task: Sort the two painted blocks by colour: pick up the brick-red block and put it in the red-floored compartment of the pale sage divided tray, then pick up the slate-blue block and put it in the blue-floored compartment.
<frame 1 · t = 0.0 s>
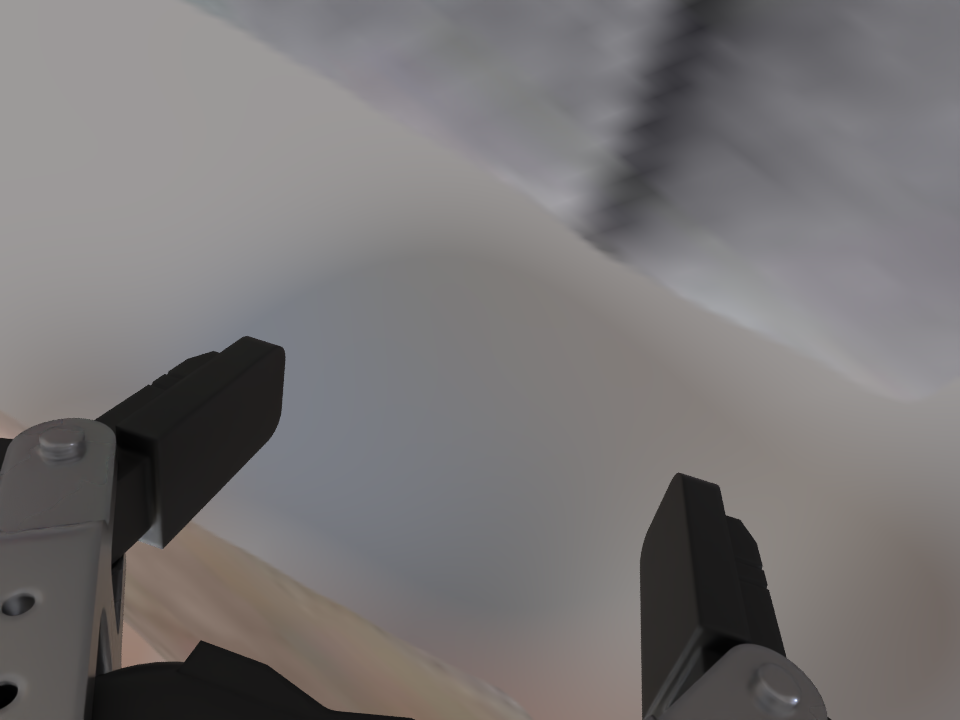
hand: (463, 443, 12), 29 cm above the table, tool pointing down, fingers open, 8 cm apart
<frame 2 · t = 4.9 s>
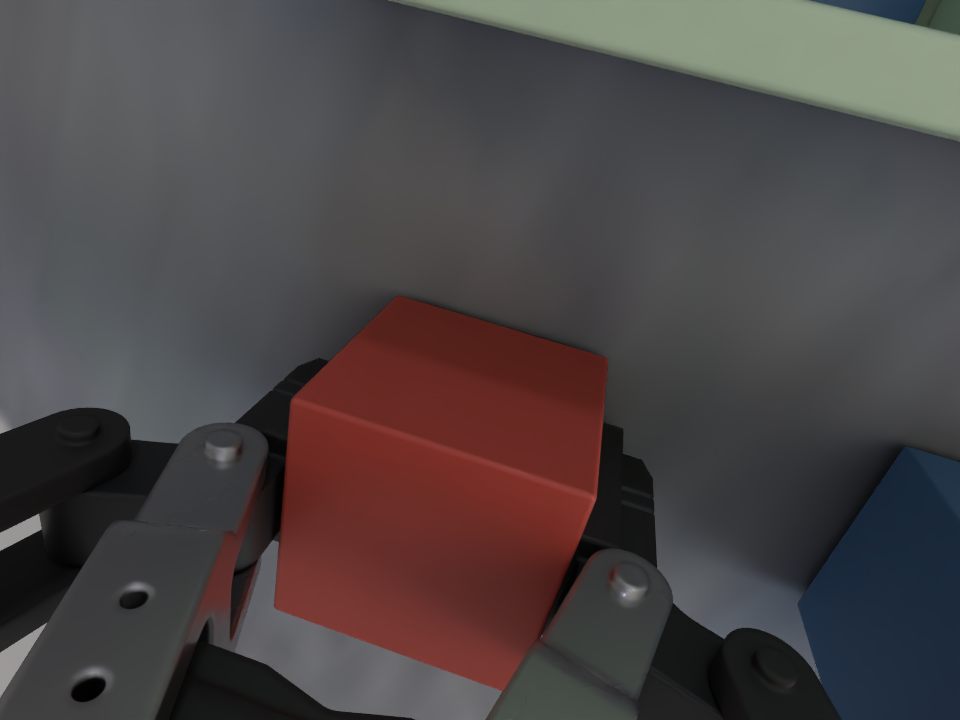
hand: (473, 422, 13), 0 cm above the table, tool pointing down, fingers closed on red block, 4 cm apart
red block: (477, 415, 13), on the table, touching gripper
blue block: (957, 565, 12), on the table
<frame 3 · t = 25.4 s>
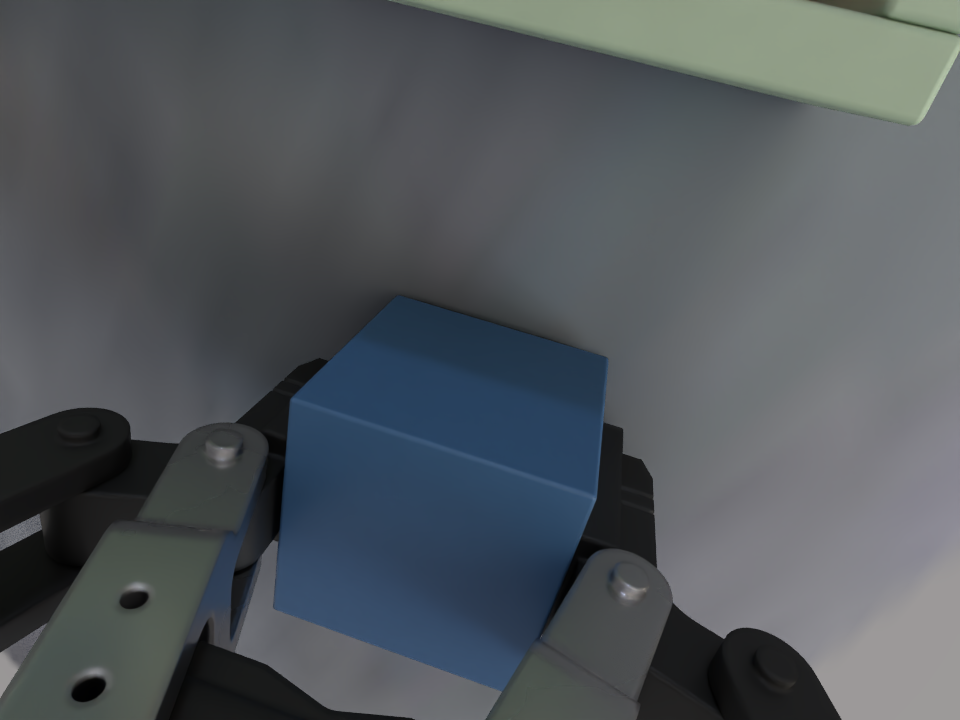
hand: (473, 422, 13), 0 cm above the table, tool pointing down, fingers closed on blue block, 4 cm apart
blue block: (477, 415, 13), on the table, touching gripper
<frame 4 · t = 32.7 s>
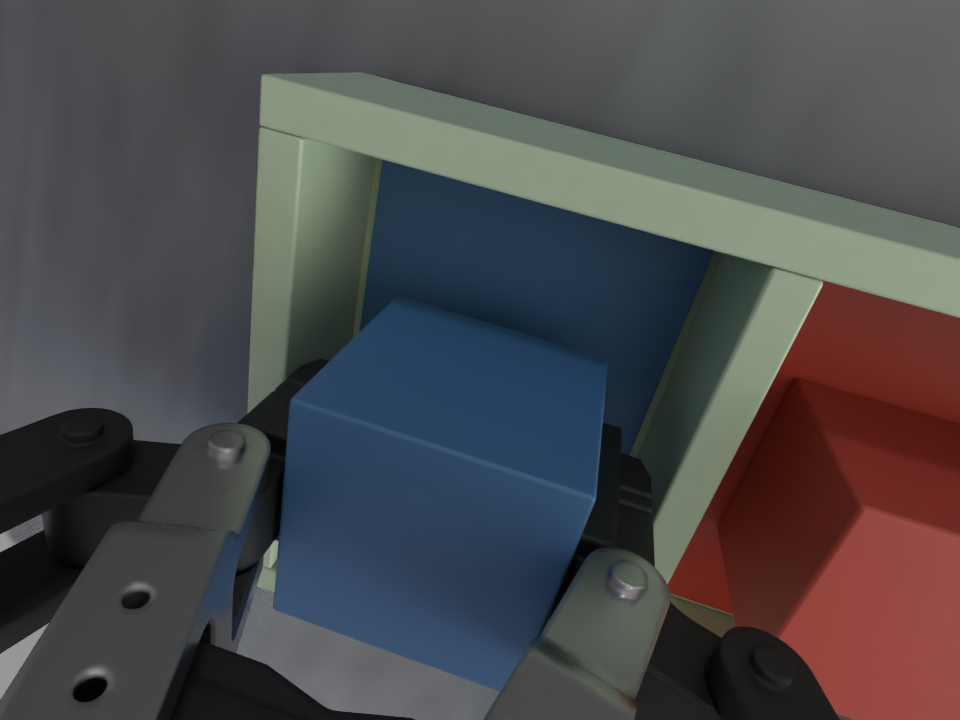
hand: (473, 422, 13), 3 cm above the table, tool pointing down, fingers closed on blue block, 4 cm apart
sorting tray: (666, 414, 15), on the table
red block: (848, 485, 14), point 1 cm above the table, touching sorting tray
blue block: (477, 415, 13), point 3 cm above the table, touching gripper
when the fingers open (5 cm above the table, at t = 41.1 s): blue block drops 4 cm, resting on sorting tray.
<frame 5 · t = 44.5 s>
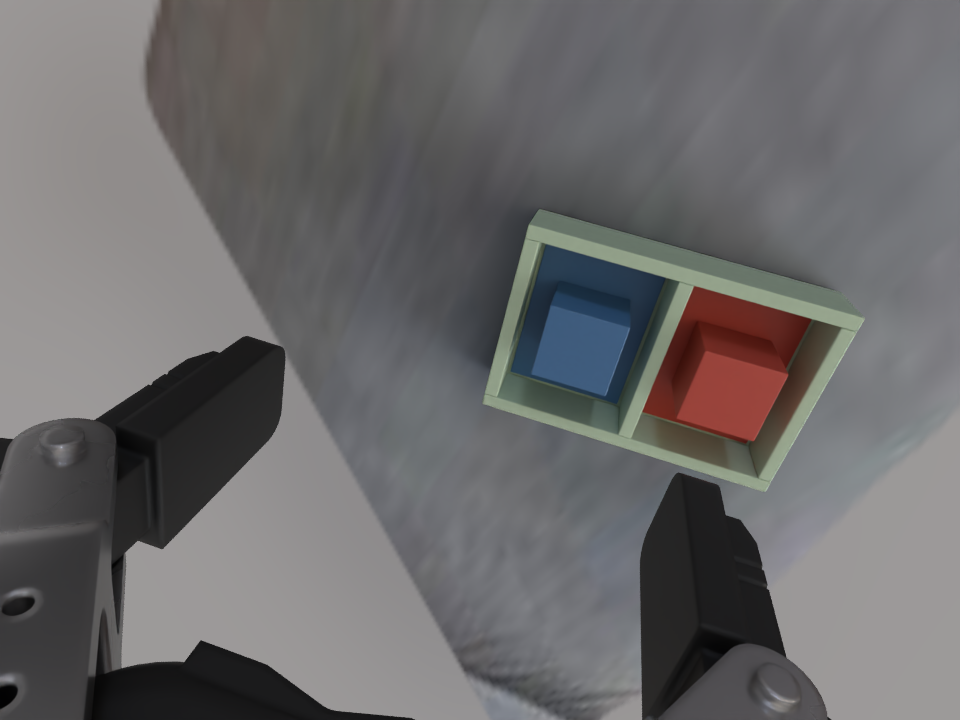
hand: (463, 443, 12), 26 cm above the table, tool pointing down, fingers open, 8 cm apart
sorting tray: (651, 337, 38), on the table
red block: (719, 362, 37), point 1 cm above the table, touching sorting tray
blue block: (584, 322, 37), point 1 cm above the table, touching sorting tray
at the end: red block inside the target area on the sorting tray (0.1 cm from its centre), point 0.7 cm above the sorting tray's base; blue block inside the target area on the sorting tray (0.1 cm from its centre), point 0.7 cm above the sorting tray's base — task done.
